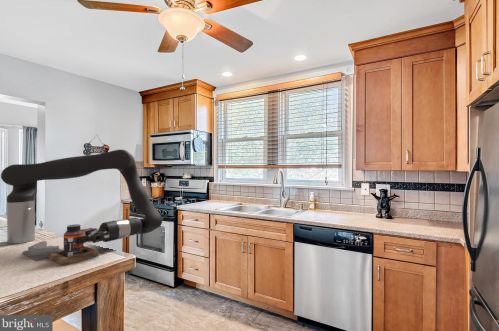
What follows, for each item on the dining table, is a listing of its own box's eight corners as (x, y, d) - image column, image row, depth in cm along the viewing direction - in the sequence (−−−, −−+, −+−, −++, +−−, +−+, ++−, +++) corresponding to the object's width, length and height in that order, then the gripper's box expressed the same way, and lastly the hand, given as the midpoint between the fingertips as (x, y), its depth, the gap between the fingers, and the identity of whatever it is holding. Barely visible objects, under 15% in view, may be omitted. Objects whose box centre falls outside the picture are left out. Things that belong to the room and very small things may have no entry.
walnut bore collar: (48, 258, 95) (48, 253, 95) (82, 250, 104) (82, 245, 104) (63, 265, 88) (63, 260, 88) (98, 255, 97) (98, 250, 97)
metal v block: (22, 253, 101) (22, 244, 101) (50, 247, 108) (50, 239, 108) (37, 260, 92) (37, 251, 92) (67, 253, 100) (67, 245, 100)
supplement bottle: (73, 260, 92) (73, 227, 92) (59, 259, 93) (58, 226, 93) (87, 255, 98) (87, 223, 98) (73, 254, 99) (73, 223, 99)
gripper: (105, 218, 112) (61, 226, 99) (125, 222, 104) (79, 231, 91) (106, 236, 112) (61, 246, 99) (125, 242, 104) (79, 253, 91)
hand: (70, 239), depth 95 cm, fingers open, 8 cm apart
